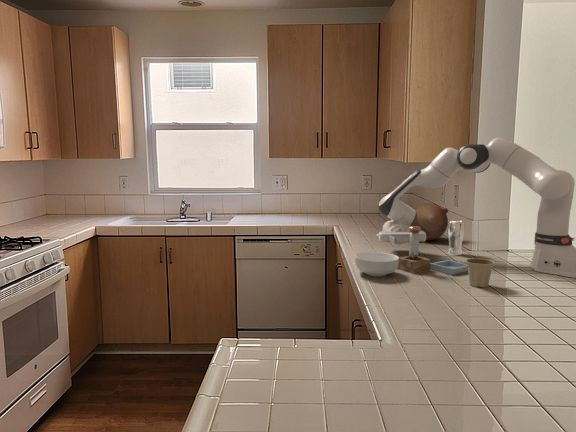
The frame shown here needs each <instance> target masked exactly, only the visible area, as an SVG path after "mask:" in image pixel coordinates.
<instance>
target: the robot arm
mask: <svg viewBox="0 0 576 432" xmlns="http://www.w3.org/2000/svg"><path fill="white" fill-rule="evenodd" d="M491 164H493V165H496V166H497V167H499V168H501V169H502V170H504V171H505V172H507V173H509V174H510V175H511V176H513V177H515V178H517V180H519V181H521V182H522V183H523V184H524V185H526V187H528V188H529V189H531V190H532V191H533V192H535V193H536V194H537V195H538V196H540V203H539V208H538V211H537V215H536V216H537V220H536V232H535V233H534V250H533V254H532V259H531V261H530V264H529V268H531V269H533V271H534V272H537V273H545V274H551V275H554V276H562V277H566V278H567V277H569V278H573V279H576V247H575V246H574V245H573V241H574V240H575V239H576V237H572V236H570V234H569V226H570V218H571V217H570V215H571V209H572V204H573V199H574V198H573V197H574V192H575V179H574V176H573V175H572V174H571V173H570V172H568V171H566V170H563V169H562V170H561V169H555V168H554V167H553V166H552V165H550V164H548V163H547V162H546V161H545V160H542V159H541V158H540V157H539V156H538V155H536V154H534V153H532V152H531V151H528V149H525V148H524V147H522V146H521V145H518V144H517V143H515V142H513V141H511V140H508V139H505V138H504V137H495V138H494V139H492V140H490V141H489V142H488V144H487V145H485V144H480V143H479V144H477V143H475V144H474V143H471V144H470V143H469V144H466V145H463V146H461V147H460V149H459V150H458V149H456V148H453V147H445V149H443V150H442V151H441V152H440V153H438V154H437V156H435V158H433V160H432V161H431V162H430V163H429V165H428V166H426V167H425V168H422V169H416V170H414V171H413V172H411V173H410V174H409V175H408V176H407V177H406V178H404V179H403V181H401V182H400V183H399V184H398V185H397V186H396V187H395V188H393V189H392V190H390V192H389V193H387V194H386V195H384V197H382V198H381V200H380V201H379V202H378V205H377V206H378V211H379V214H381V215H382V216H385V217H387V218H388V219H390V220H388V221H386V222H384V224H383V225H382V231H378V233H376V234H375V237H377V238H378V241H379V242H380V243H393V244H395V245H402V244H407V243H410V230H409V226H414V225H415V223H416V221H417V212H416V210H414V209H415V208H413V207H411V206H410V205H408V204H406V203H405V202H403V200H400V198H401V197H402V196H403V195H404V194H405V193H407V192H408V191H409V190H410V189H411V188H412V187H423V188H429V189H441V188H443V187H445V186H446V185H447V183H449V181H450V180H451V179H452V178H453V176H454V175H455V174H456V173H457V172H458V171H460V170H463V169H464V170H466V171H468V172H470V173H471V172H472V173H474V174H475V173H476V174H480V173H484V172H485V171H487V170H488V169H489V168H490V165H491ZM426 241H427V240H426V233H425V232H424V231H422V230H420V231H419V242H426Z"/></svg>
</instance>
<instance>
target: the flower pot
mask: <svg viewBox="0 0 576 432" xmlns="http://www.w3.org/2000/svg"><path fill="white" fill-rule="evenodd" d="M465 262H466V264H467V266H468V272H467V273H468V274H467V275H468V281H469V282H468V284H469V286H472V287H475V288H478V287H480V288H487V287H488V286H489V283H490V278H491V273H492V269H493V267H494V265H495V264H496V263H495V261H494V260H491V259H486V258H485V259H484V258H477V257H476V258H475V257H474V258H467V259H465Z"/></svg>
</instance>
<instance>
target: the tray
mask: <svg viewBox="0 0 576 432" xmlns="http://www.w3.org/2000/svg"><path fill="white" fill-rule="evenodd" d="M430 270H431V271H435V272H438V273H440V274H441V273H442V274H445V275H449V276H452V277H453V276H456V275H462V274H466V273H468V266H467V263H462V262H458V261H454V260H449V259H446V260H440V261H436V262H430ZM430 270H429V271H430Z"/></svg>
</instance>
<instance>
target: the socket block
mask: <svg viewBox="0 0 576 432" xmlns="http://www.w3.org/2000/svg"><path fill="white" fill-rule="evenodd" d="M398 257H399V256H398ZM430 263H431V258H428V257H424V256H423V257H422V256H419V255H418V260H415V261H413V260H409V255H407V256H406V255H405V256H400V257H399V264H398V267H397V269H396V270H401V271H404V272H407V273H411V274H419V273H425V272H428V271H430Z"/></svg>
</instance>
